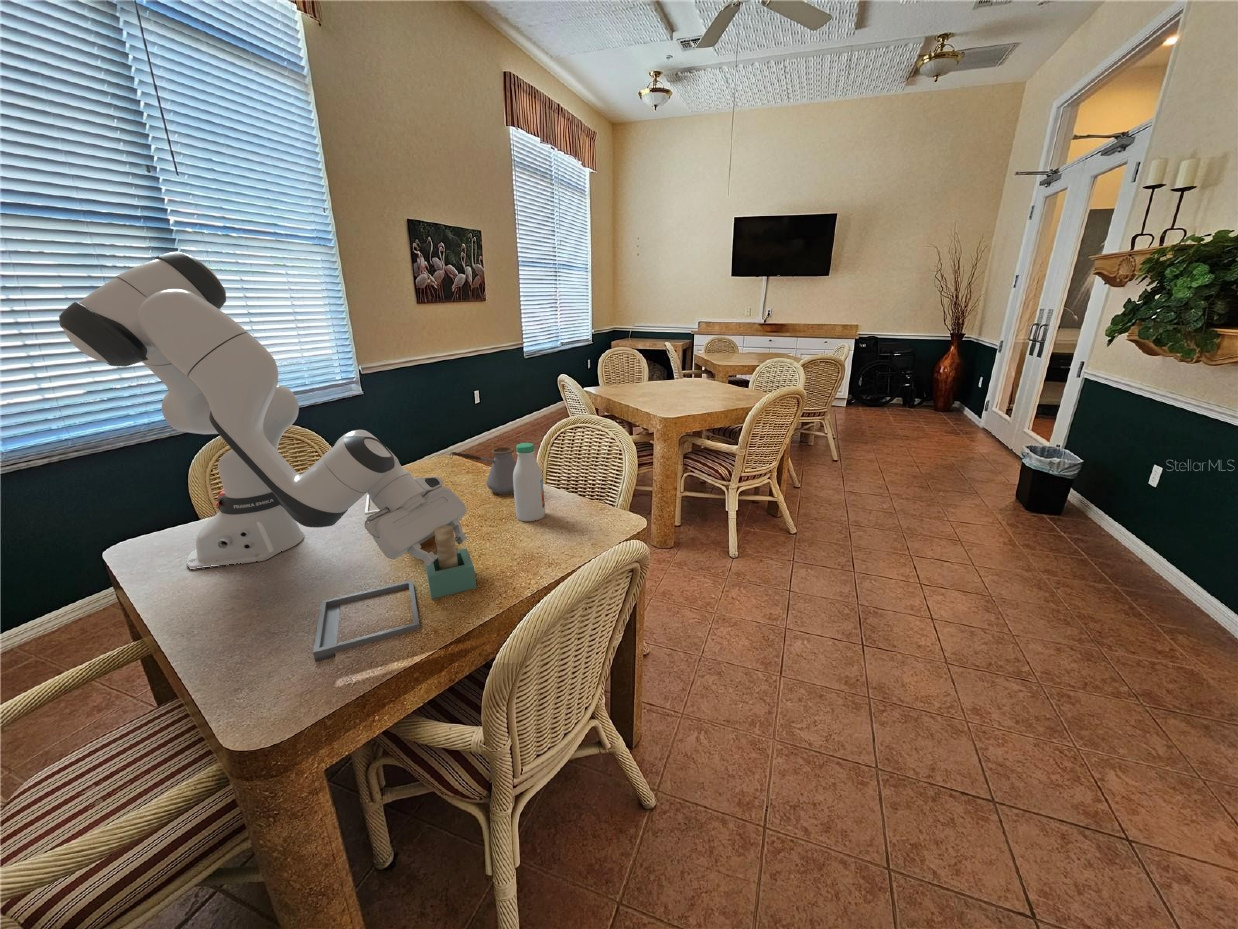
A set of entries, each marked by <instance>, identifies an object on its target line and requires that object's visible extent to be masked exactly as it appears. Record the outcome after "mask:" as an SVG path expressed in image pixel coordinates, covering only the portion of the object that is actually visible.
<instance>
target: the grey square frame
mask: <svg viewBox="0 0 1238 929" xmlns="http://www.w3.org/2000/svg"><path fill="white" fill-rule="evenodd" d="M414 587H415V586H414V581H413V579H412V580H407V581H403V582H399V583H394V584H389V585H385V586H380V587H377V588H372V589H368V590H364V591H359V592H356V593H351V594H346V595H342V596H337V597H334V598H330V599H325V600H324V599H323V600H321V602H320V608H319V615H318V620H317V625H316V626H317V627H316V633H315V638H314V645H313V651H312V653H313V656H314V657H313V658H314V661H315V662H319V661H323V660H326V659H329V658H333V657H336V653H338V652H340V651H341V652H342V651H345V650H349V649H353V648H357V647H358V646H362V645H367V644H370V643H374V642H378V641H381V640H385V639H388V638H392V637H393V638H394V637H395V636H399V635H405V634H407V633H410V632H415V631H418V630H421V626H420V620H419V612H418V607H417V600H416V593H415V588H414ZM407 588H408V589H409V595H410V603H411V610H412V618H413V622H412V623H408V624H405V625H400V626H396V627H392V628H390V629H385V630H381V631H378V632H373V633H371V634H366V635H362V636H359V637H355V638H351V639H347V640H344V641H340V642H338V632H339V624H340V612H341V611H340V610H341V605H342V604H345V603H349V602H354V601H358V600H362V599H367V598H371V597H375V596H380V595H384V594H387V593H392V592H396V591H400V590H404V589H407Z"/></svg>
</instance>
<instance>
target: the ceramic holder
mask: <svg viewBox="0 0 1238 929" xmlns="http://www.w3.org/2000/svg"><path fill="white" fill-rule="evenodd" d="M456 553H457V560H458V566H457V567H453V568H449V569H444V570H440V566H439V560H438V553H437V554H434V555H435V556H436V557H437V560H436V561H435V562H434V563H432V564H431V565H429V566H428V565H426V563H425V562H424V568H425V573H426V579H427V584H428V585H427V586H428V589H429V593H430V600H435V599H438V598H441V597H442V598H443V597H446V596H450V595H455V594H458V593H462V592H467V591H470V590H474V589H477V581H476V572H475V567H474V566H475V565H474V563H473V561H472V558H471V556H470V554H469V551H468V548H461V549H456Z"/></svg>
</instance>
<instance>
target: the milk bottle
mask: <svg viewBox="0 0 1238 929" xmlns="http://www.w3.org/2000/svg"><path fill="white" fill-rule="evenodd" d="M515 450H516V455H517V460H516V466H515V469H514V472H513V486H514V493H513V495H514V496H513V497H514V506H515V515H516V516H515V517H516V518H517V519H518V520H519V521H521V522H535V520H536V521H539V520H542V519H543V518H544V517H545V515H546V506H545V505H546V504H545V491H544V480H543V478H544V477H543V472H542V469H541V467H540V465H539V464H538V462H537V460H536V457H535V453H536V451H535V445H534V444H533V442H532V443H531V442H521V443H518V444H516V446H515ZM542 517H543V518H542Z"/></svg>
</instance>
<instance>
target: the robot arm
mask: <svg viewBox="0 0 1238 929" xmlns="http://www.w3.org/2000/svg"><path fill="white" fill-rule="evenodd" d="M226 292H227V291H226V289H225V287H224V286H223V285H222V283H221V281H220V279H219V278H218V276H217V275H216V274H215V273H214V271H212V269H211V268H209V267H208V266H207V265H206V264H204V263H203V262H201V261H200V260H199V259H197V258H195V257H194V256H192V255H190V254H188V253H184V252H180V251H177V250H176V251H171V252H166V253H164V254H163V253H162V254H159V255H156V256H155V258H154V259H153V260H150V261H147V262H145V263H142V264H140V265H136V266H135V267H131V268H130V269H128V270H125V271H124V272H122V273H120V274H117V275H115V277H114V278H113V279H111V280H109V281H107V282H106V283H105V284H102V285H101V286H99V287H98V288H96V289H95V290H93V291H92V292H90V293H89V294H88V295H86V296H85V297H84V298H83V299H81V300H80V301H79V302H77V301H73V302H72V303H71V304H70V305H68V306H67V307H66V308H65V309H64V310H63V311H62V312H61V313H60V314H59V316H58V318H59V321H58V322H59V326H60V328H61V329H63V331H64V334H65V335H66V337H67V339H68V340H69V341H70V343H71V344H72V345H73V346H75V348H77V349H78V351H80V352H81V353H83V354H85V355H87V356H88V357H90V358H92V359H94V360H96V361H98V362H101V363H105V364H107V365H109V366H111V367H129V366H132V365H133V366H134V365H135V364H138V363H141V362H142V364H143V365H145V366H146V368H148V369H149V370H150V371H151V373H153V374H154V375H155V376H156V377H157V378H158V379H159V380H160V381H161V382H162V383H163V384H164V386H166V388H167V389H168V391H167V392H166V394H165V395H164V397H163V399H162V402H161V413H162V416H163V418H164V419H165V421H166V422H167V424H168V425H170V427H172V428H173V430H176V431H179V432H183V433H191V434H199V435H217V434H218V435H219V436H220V437H221V438H222V439H223V441H224V442H225V443H226V444H227V445H228V446H229V447H230V448H231V449H230V450H228V451H226V452H225V453H224V454H223V455H222V456H221V457H220V459H219V460H218V463H217V470H218V473H219V477H220V480H221V484H222V487H223V490H222V491H221V492H219V494H218V495H217V499H216V500H215V501H216V502H215V507H216V509H218V512H217V513H216V514H215V515H214V516H213V517H212V518H211V519H210V520H208V522H206V523H205V524H204V525H203V526H202V527H201V529H200V530H199V531H198V533H197V535H196V539H195V548H194V549H193V550H192V551H191V552H190V554H188V555H187V556H188V557H187V558H186V566H188V567H189V568H197V567H203V566H211V565H226V564H227V565H226V566H230V565H229V564H234V565H242V564H249V563H256V561H258V562H263V561H267V560H269V559H270V558H272V557H274V556H275V555H277V554H279V553H281V551H282V552H285V551H286V550H289V549H290V548H291V549H292V548H293V547H294V546H296V545H298V544H299V543H300V542H302V541H303V540H304V538H305V534H304V532H303V531H302V530H301V527H300V526H303V527H307V528H317V529H318V528H327V527H332V526H335V525H336V524H337V522H338V521H340V519H342V517H343V516H344V515H345V514H346V513H347V512H348V510H349V509H350V508H351V507H352V506H354V504H356V503H357V502H358V501H359V500H360V499H361V498H363V496H365V495H366V494H367V495H369V499H370V501H371V502H372V503H373V505H374V506H375V507H376V508H377V510H380V511H378V512H377V513H371V514H369V515H368V516H367V517H366V520H365V522H364V529H365V531H367V533H369V535H370V536H372V539H373V541H374V542H375V543H376V545H377V547H378V548H379V549H380V551H381V552H382V553H383V555H384V557H386V558H387V559H390V560H393V561H394V560H396V559H399V558H400V557H402V556H403V555H405V554H407V553H408V554H409V555H410V556H411V557H413V558H416V559H418V560H421V561H423V562H424V564H425V563H426V565H428V566H429V565H431V564H432V563H434V562H435V561H436V560H437V557H436V556H435V555H436V554H435V553H434V552H433V551H430V552H428V551H425V550H423V548H421V545H420V544H421V543H423V542H424V541H426V540H428V539H429V538H431V537H432V536H434V535H435V533H434V530H435V529H436V528H437V527H440V526H444V525H449V526H452V527H453V531H454V538H455V543H457V545H461V544H463V543H464V542H466V541H467V539H468V536H467V535H466V534H465V533H464V531H463V526H462V524H461V521H460V520H462V518H463V517H464V516H465V515H466V513H467V511H468V510H467V507H466V503H464V502H463V500H461V498H460V497H459V496H458V495H457V494H456V493H455V492H454V491H453V490H452V489H450V488H449V487H447V486H443V484H444V481H443V479H442V478H441V477H440V476H429V477H428V476H427V477H424V476H423V477H422V476H421V477H420V476H418V477H415V476H414V475H413V474H412V473H410V471H408V470H406V469H405V468H404V467H402V465H401V464H400V462H399V459H398V458H397V456H395V454H394V453H393V452H392V451H391V450H390V449H389V448H388V447H387V446H386V445H385V444H384V443H383V442H381V441H380V440H379V439H378V438H377V437H376V436H374V435H373V434H372V433H370V432H369V431H367V430H364V429H355V430H351V431H348V432H347V433H344V434H343V435H342V436H341V437H339V438H338V439H337V441H336V442H335V443H334V446H332V447H331V448H330V449H329V450H327V451H326V452H325V453H324V455H323V456H322V457H320V458H319V459H318V460H317V461H315V462H314V463H313V464H312V465H311V466H310V467H309V468H307V470H305V471H304V472H302V473H298V472H297V471H296V470H295V469H294V468H293V467H292V465H290V463H289V462H288V461H287V460H286V459H285V458H284V457H283V456H282V455H281V453H280V452H279V451H278V449H279V444H280V442H281V439H282V436H283V435H284V434H285V432H286V431H287V430H288V429H289V428H290V427H291V426H292V425H293V424H294V423H295V422H296V420H297V418H298V416H299V412H300V406H299V401H298V398H297V397H296V396H295V393H294V392H293V391H292V390H291V389H290V388H289V387H288V386H286V385H283V384H279V383H278V382H279V369H278V365H277V361H276V360H275V358H274V356H273V355H272V354H271V353H270V352H269V351H268V349H267V348H266V347H265V346H264V345H263V344H262V343H261V342H260V341H259V340H258V339H257V338H255V337H254V336H253V334H251V333H249V332H248V331H247V330H246V329H245V328H244V327H242V325H240V324H239V323H238V322H236V321H235V320H234V319H233V318H232V317H230V316H229V315H227V314H226V313H225V312H223V310H221V308H222V307H223V306H224V305H225V303H226V302H227V293H226ZM298 524H300V526H299V525H298ZM420 548H421V549H420ZM193 561H194V562H193ZM236 563H238V564H236ZM240 563H241V564H240ZM188 567H187V568H188ZM189 568H188V569H189Z"/></svg>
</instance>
